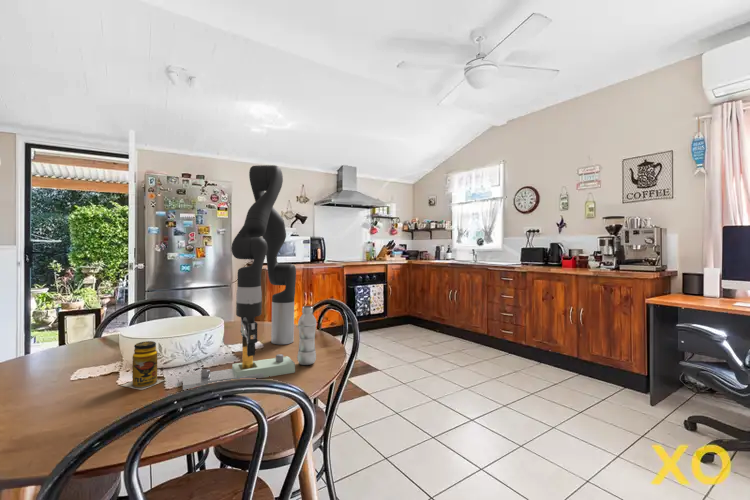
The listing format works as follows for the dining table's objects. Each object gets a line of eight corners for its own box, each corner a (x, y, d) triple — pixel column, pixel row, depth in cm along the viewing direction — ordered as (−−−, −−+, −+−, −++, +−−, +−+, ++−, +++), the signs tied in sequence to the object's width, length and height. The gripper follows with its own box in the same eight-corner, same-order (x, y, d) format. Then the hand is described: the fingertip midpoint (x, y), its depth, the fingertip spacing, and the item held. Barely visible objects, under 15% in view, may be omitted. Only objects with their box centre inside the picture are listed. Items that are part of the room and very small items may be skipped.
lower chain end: (182, 380, 105) (182, 369, 105) (258, 369, 116) (258, 358, 116) (182, 390, 98) (183, 378, 98) (263, 377, 109) (263, 366, 109)
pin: (241, 374, 111) (241, 346, 111) (251, 372, 113) (252, 345, 113) (242, 377, 109) (243, 349, 109) (253, 376, 110) (254, 347, 110)
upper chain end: (232, 373, 112) (232, 357, 112) (287, 364, 121) (288, 350, 121) (236, 382, 105) (236, 365, 105) (294, 372, 114) (295, 357, 114)
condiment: (142, 390, 98) (143, 347, 98) (120, 386, 101) (120, 344, 101) (165, 381, 105) (165, 341, 105) (143, 377, 108) (144, 338, 107)
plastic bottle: (318, 361, 126) (319, 305, 125) (312, 367, 119) (314, 309, 119) (300, 360, 126) (301, 304, 126) (294, 366, 119) (295, 308, 119)
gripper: (233, 297, 115) (232, 347, 115) (240, 305, 102) (239, 360, 103) (256, 296, 119) (256, 344, 119) (266, 303, 106) (265, 356, 107)
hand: (248, 351), depth 111 cm, fingers open, 8 cm apart
